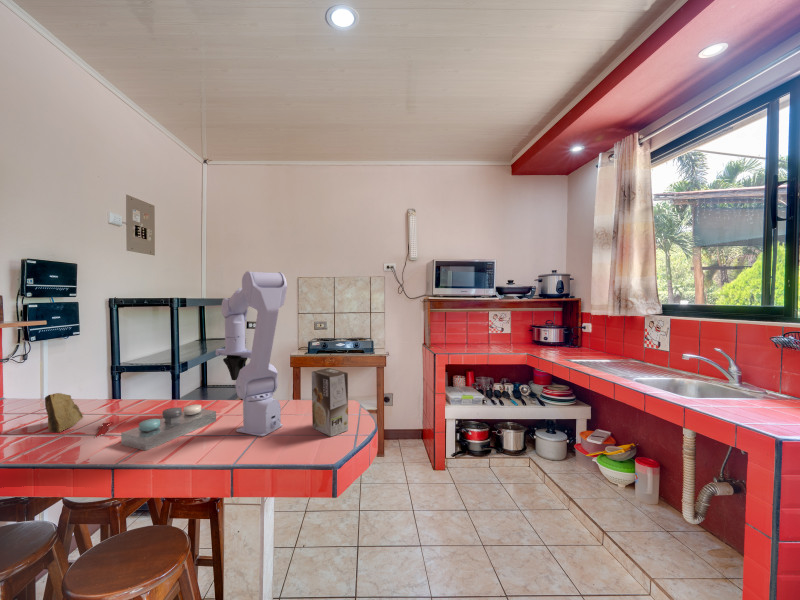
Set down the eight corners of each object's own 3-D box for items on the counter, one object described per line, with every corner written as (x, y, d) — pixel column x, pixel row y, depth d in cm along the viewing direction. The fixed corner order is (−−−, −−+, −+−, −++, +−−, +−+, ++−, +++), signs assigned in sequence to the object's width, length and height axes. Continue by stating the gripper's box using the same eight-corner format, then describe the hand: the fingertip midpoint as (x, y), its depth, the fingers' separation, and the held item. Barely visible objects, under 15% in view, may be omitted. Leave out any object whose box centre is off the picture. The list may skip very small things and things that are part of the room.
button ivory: (204, 418, 102) (204, 405, 102) (191, 423, 98) (190, 410, 98) (194, 416, 103) (193, 403, 103) (180, 421, 99) (179, 408, 99)
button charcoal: (185, 421, 96) (185, 408, 96) (170, 427, 92) (170, 414, 92) (174, 419, 98) (174, 406, 98) (158, 425, 94) (158, 411, 93)
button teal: (164, 434, 91) (164, 419, 90) (146, 440, 86) (146, 426, 86) (152, 431, 92) (152, 417, 92) (135, 438, 88) (134, 423, 88)
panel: (216, 421, 103) (215, 411, 103) (145, 450, 84) (145, 438, 84) (194, 417, 106) (193, 407, 106) (121, 444, 87) (121, 432, 87)
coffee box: (349, 430, 96) (349, 372, 96) (330, 437, 92) (330, 376, 91) (329, 421, 102) (329, 367, 102) (310, 428, 98) (310, 371, 97)
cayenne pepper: (108, 423, 102) (107, 417, 102) (125, 422, 103) (125, 416, 103) (77, 441, 90) (77, 434, 90) (97, 440, 91) (97, 432, 91)
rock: (72, 408, 107) (31, 415, 97) (87, 387, 106) (47, 392, 97) (90, 433, 104) (49, 443, 94) (106, 412, 103) (66, 419, 94)
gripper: (262, 336, 111) (263, 378, 111) (228, 333, 116) (228, 374, 116) (245, 339, 104) (246, 384, 105) (209, 336, 109) (210, 379, 110)
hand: (235, 379), depth 110 cm, fingers closed
